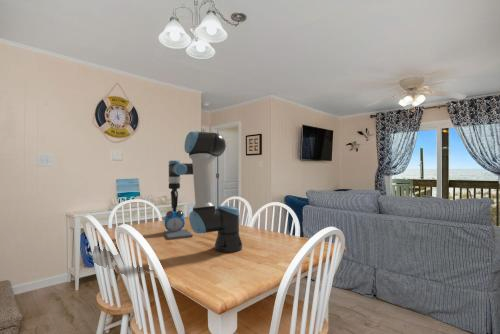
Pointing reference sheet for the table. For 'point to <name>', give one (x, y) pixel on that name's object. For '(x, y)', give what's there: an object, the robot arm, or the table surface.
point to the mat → (177, 234)
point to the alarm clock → (174, 220)
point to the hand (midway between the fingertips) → (174, 216)
